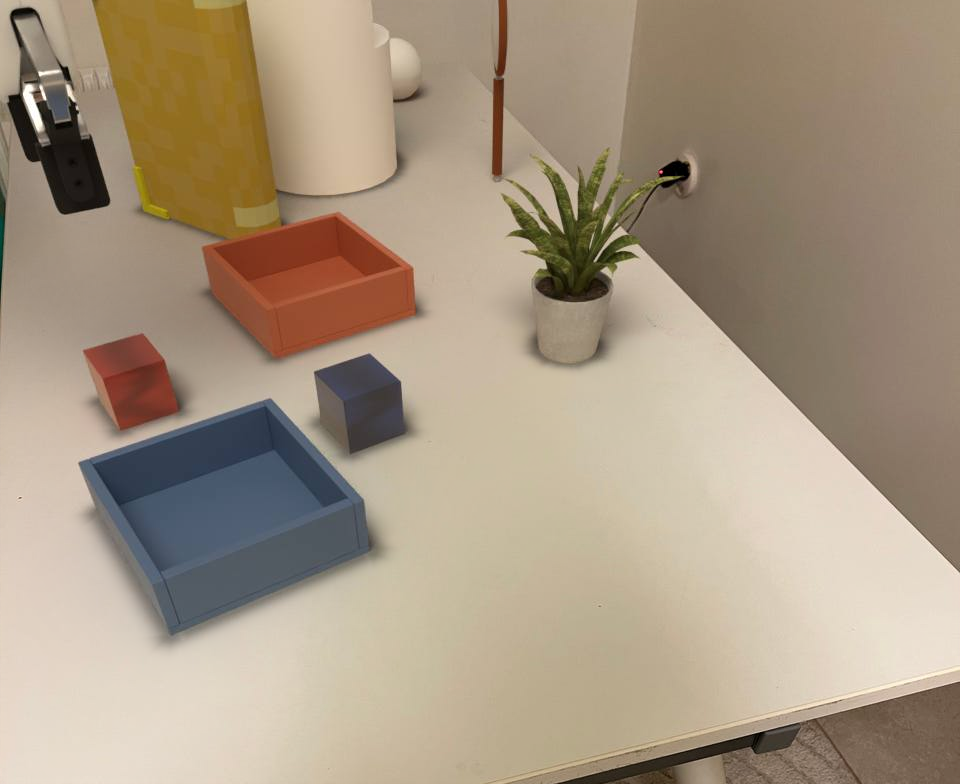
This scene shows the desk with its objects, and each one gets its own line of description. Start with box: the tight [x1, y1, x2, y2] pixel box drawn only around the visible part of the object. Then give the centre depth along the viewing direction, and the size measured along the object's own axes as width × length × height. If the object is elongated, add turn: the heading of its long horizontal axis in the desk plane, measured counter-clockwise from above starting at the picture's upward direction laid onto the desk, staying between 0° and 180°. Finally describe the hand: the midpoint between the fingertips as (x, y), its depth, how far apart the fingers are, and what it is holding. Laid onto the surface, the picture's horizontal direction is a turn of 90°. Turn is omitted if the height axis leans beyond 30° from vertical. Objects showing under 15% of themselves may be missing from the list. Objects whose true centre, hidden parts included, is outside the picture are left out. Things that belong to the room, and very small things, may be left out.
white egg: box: [389, 37, 423, 101], centre depth 125 cm, size 10×7×7 cm
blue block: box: [313, 352, 406, 455], centre depth 71 cm, size 5×5×5 cm
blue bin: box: [77, 397, 371, 636], centre depth 63 cm, size 15×15×5 cm
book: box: [91, 0, 282, 240], centre depth 91 cm, size 17×7×25 cm, turn 55°
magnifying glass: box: [490, 0, 509, 183], centre depth 100 cm, size 9×2×20 cm, turn 3°
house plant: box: [499, 147, 686, 364], centre depth 76 cm, size 14×14×16 cm
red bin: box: [201, 211, 417, 360], centre depth 85 cm, size 15×15×5 cm
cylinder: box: [247, 0, 398, 196], centre depth 100 cm, size 17×17×28 cm
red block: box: [82, 332, 180, 432], centre depth 73 cm, size 5×5×5 cm
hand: (67, 182), depth 59 cm, fingers open, 9 cm apart
